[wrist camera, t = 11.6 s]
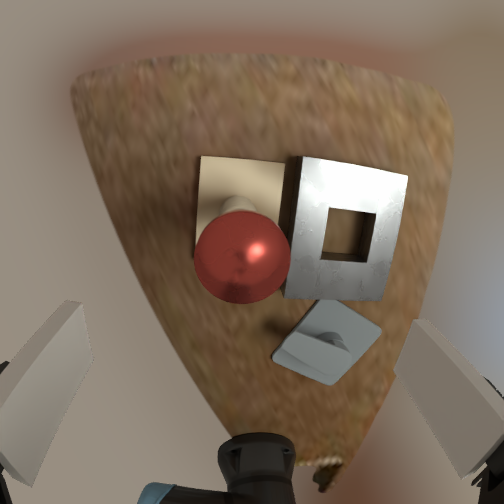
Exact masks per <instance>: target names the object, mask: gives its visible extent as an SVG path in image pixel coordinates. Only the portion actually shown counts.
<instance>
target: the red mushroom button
mask: <svg viewBox="0 0 504 504" xmlns="http://www.w3.org/2000/svg"><path fill="white" fill-rule="evenodd" d="M290 263H291V252H290V247H289V244H288V241H287V239H286V237H285V235H284V234H283V232H282V230H281V229H280V228H279V226H278V225H277V224H276V223H275V222H274V221H273V220H271V219H270V218H269V217H267V216H265V215H264V214H261V213H259V212H257V210H256V208H255V206H254V204H253V203H252V201H251V200H249V199H248V198H246V197H244V196H232V197H230V198H228V199H226V200H225V201H224V202H223V204H222V206H221V208H220V212H219V216H218V217H216V218H215V219H213V220H212V221H211V222H210V223H209V224H208V225H207V226H206V227H205V228H204V230H203V231H202V233H201V235H200V237H199V239H198V242H197V244H196V248H195V253H194V265H195V270H196V273H197V276H198V278H199V280H200V281H201V283H202V285H203V286H204V287H205V288H206V289H207V290H208V291H209V292H210V293H211V294H213V295H214V296H216V297H217V298H219V299H221V300H224V301H226V302H230V303H236V304H248V303H254V302H257V301H260V300H263V299H265V298H267V297H268V296H270V295H271V294H273V293H274V292H275V291H276V290H277V289H278V288H279V287H280V286H281V285H282V283H283V282H284V280H285V279H286V277H287V274H288V272H289V268H290Z"/></svg>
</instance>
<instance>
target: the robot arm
mask: <svg viewBox="0 0 504 504" xmlns="http://www.w3.org/2000/svg"><path fill="white" fill-rule="evenodd" d="M93 361H94V359H93V354H92V350H91V346H90V341H89V336H88V332H87V327H86V321H85V316H84V310H83V304H82V303H81V302H74V301H68V300H66V301H65V302H64V303H63V304H62V305H61V306H60V307H59V308H58V309H57V310H56V311H55V312H54V313H53V314H52V315H51V316H50V317H49V319H48V320H47V321H46V322H45V323H44V324H43V325H42V326H41V328H39V330H38V331H37V332H36V333H35V334H34V335H33V336H32V337H31V338H30V340H29V341H28V342H27V343H26V344H25V345H24V347H23V348H22V349H21V350H20V351H19V352H18V354H17V355H16V356H15V357H14V359H12V361H11V362H8V361H5V362H3V363H2V364H0V504H12V501H11V498H10V495H9V492H8V488H7V485H6V482H5V479H4V478H3V475H2V474H1V473H2V471H3V469H5V470H6V471H7V472H8V473H9V474H10V475H11V476H12V478H14V479H16V480H18V481H20V482H22V483H24V484H26V485H28V486H30V487H32V486H33V484H34V481H35V479H36V476H37V474H38V471H39V469H40V467H41V464H42V462H43V460H44V458H45V455H46V453H47V451H48V449H49V446H50V444H51V442H52V440H53V438H54V436H55V434H56V431H57V429H58V427H59V425H60V423H61V421H62V419H63V417H64V415H65V413H66V411H67V409H68V407H69V405H70V403H71V401H72V399H73V398H74V396H75V394H76V392H77V390H78V388H79V386H80V384H81V382H82V381H83V379H84V377H85V375H86V373H87V372H88V370H89V368H90V366H91V364H92V363H93ZM393 371H394V373H395V374H396V376H397V377H398V379H399V380H400V381H401V383H402V385H403V386H404V387H405V389H406V390H407V392H408V394H409V395H410V397H411V398H412V400H413V401H414V403H415V405H416V406H417V408H418V409H419V411H420V412H421V414H422V415H423V417H424V419H425V420H426V422H427V423H428V425H429V427H430V428H431V430H432V431H433V433H434V435H435V436H436V438H437V439H438V441H439V443H440V444H441V446H442V448H443V449H444V451H445V453H446V454H447V456H448V458H449V459H450V461H451V463H452V465H453V466H454V468H455V470H456V471H457V473H458V475H459V477H460V478H461V480H462V479H463V478H465V477H467V476H469V475H471V474H473V473H475V472H476V471H477V470H478V469H479V468H480V467H481V466H482V465H483V464H484V463H485V462H486V464H487V465H488V466H487V467H486V468H485V469H484V470H483V471H482V472H481V473H480V474H479V475H478V476H477V477H476V478H475V479H474V480H473V481H472V484H471V485H472V486H473V485H474V484H476V483H477V482H478V481H479V480H480V479H481V478H482V480H481V481H480V482H479V483H478V484H477V487H481V489H480V495H479V502H478V504H504V397H502V394H500V392H499V391H498V390H496V388H495V387H494V385H492V383H491V382H490V381H489V380H487V379H486V378H485V377H483V376H482V375H480V373H479V372H478V371H477V370H476V369H475V368H474V367H473V366H472V364H470V362H469V361H468V360H467V359H466V358H465V357H464V356H463V355H462V354H461V353H460V352H459V351H458V350H457V349H456V348H455V347H454V346H453V345H452V344H451V343H450V342H449V341H448V340H447V339H446V338H445V337H444V336H443V335H442V334H441V333H440V332H439V331H438V330H437V329H436V328H435V327H434V326H433V325H432V324H431V323H430V322H429V321H428V320H427V319H413V321H412V324H411V327H410V330H409V333H408V335H407V338H406V341H405V343H404V346H403V348H402V351H401V353H400V356H399V358H398V360H397V363H396V365H395V368H394V370H393ZM295 459H296V453H295V448H294V445H293V443H292V442H291V441H290V440H289V439H287V438H285V437H283V436H280V435H276V434H270V433H253V434H246V435H241V436H237V437H234V438H232V439H230V440H228V441H226V442H225V443H223V444H222V445H221V446H220V448H219V450H218V464H219V467H220V469H221V472H222V474H223V476H224V479H225V481H226V483H227V490H228V492H221V491H212V490H202V489H195V488H188V487H182V486H177V485H175V484H172V485H171V484H163V483H156V482H153V483H149V484H148V485H146V486H145V488H144V489H143V491H142V493H141V495H140V498H139V500H138V503H137V504H296V502H295V497H294V492H293V487H292V481H291V479H292V474H293V469H294V464H295Z"/></svg>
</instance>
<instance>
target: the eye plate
mask: <svg viewBox="0 0 504 504" xmlns="http://www.w3.org/2000/svg"><path fill="white" fill-rule="evenodd" d="M407 179H408V176H405V175H401V174H396V173H392V172H387V171H383V170H378V169H373V168H368V167H363V166H358V165H353V164H347V163H341V162H336V161H330V160H323V159H317V158H310V157H303V156H297V162H296V171H295V179H294V188H293V196H292V204H291V212H290V220H289V227H288V235H287V241H288V244H289V247H290V252H291V263H290V268H289V272H288V274H287V277H286V279H285V280H284V282H283V283H282V285H281V286H280V288H281V291H282V294H283V297H284V298H291V299H316V300H352V301H381V300H382V297H383V293H384V289H385V286H386V282H387V278H388V274H389V270H390V266H391V262H392V258H393V254H394V249H395V245H396V240H397V236H398V231H399V226H400V221H401V215H402V210H403V204H404V198H405V192H406V186H407ZM329 207H332V208H340V209H347V210H355V211H362V212H365V218H364V224H363V229H362V235H361V240H360V245H359V250H358V255H354V254H342V253H329V252H322V247H323V241H324V235H325V229H326V223H327V216H328V209H329Z"/></svg>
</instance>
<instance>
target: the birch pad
mask: <svg viewBox="0 0 504 504" xmlns="http://www.w3.org/2000/svg"><path fill="white" fill-rule="evenodd" d="M284 168H285V163H277V162H268V161H258V160H248V159H237V158H224V157H210V156H201V167H200V179H199V193H198V209H197V226H196V244H197V242H198V239H199V237H200V235H201V233H202V231H203V230H204V228H205V227H206V226H207V225H208V224H209V223H210V222H211V221H212V220H213V219H215V218H216V217H218V216H219V212H220V208H221V206H222V204H223V202H224V201H225V200H226V199H228V198H230V197H232V196H244V197H246V198H248V199H249V200H251V201H252V203H253V204H254V206H255V208H256V210H257V212H259V213H261V214H264V215H265V216H267V217H269V218H270V219H271V220H273V221H274V222H275V223H276V224H277V225H278V219H279V211H280V203H281V194H282V186H283V177H284Z"/></svg>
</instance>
